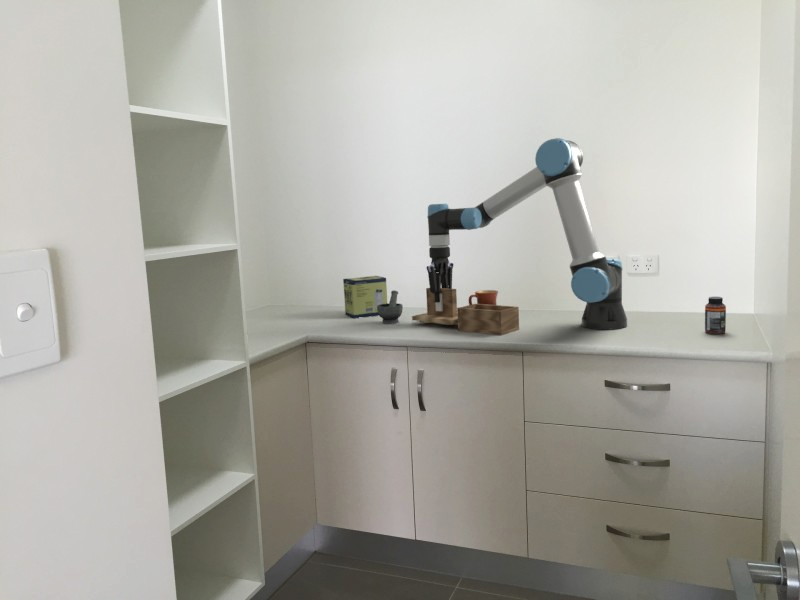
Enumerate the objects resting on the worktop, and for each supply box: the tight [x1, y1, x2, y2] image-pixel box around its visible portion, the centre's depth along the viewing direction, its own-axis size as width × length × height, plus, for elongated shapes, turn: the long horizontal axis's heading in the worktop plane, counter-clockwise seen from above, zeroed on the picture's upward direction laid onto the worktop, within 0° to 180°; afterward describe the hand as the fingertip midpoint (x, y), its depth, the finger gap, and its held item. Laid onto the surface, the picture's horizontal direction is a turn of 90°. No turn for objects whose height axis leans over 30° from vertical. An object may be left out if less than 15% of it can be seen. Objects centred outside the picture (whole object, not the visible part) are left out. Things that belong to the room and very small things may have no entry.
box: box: [457, 303, 520, 336], centre depth 234 cm, size 18×11×8 cm, turn 49°
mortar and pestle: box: [377, 290, 404, 325], centre depth 259 cm, size 11×9×12 cm
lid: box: [411, 287, 458, 326], centre depth 248 cm, size 19×12×12 cm, turn 49°
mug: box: [468, 289, 499, 305], centre depth 258 cm, size 12×9×10 cm
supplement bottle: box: [704, 296, 727, 335], centre depth 212 cm, size 6×6×11 cm
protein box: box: [342, 275, 388, 319], centre depth 280 cm, size 10×16×16 cm
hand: (442, 310), depth 249 cm, fingers closed on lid, 2 cm apart
